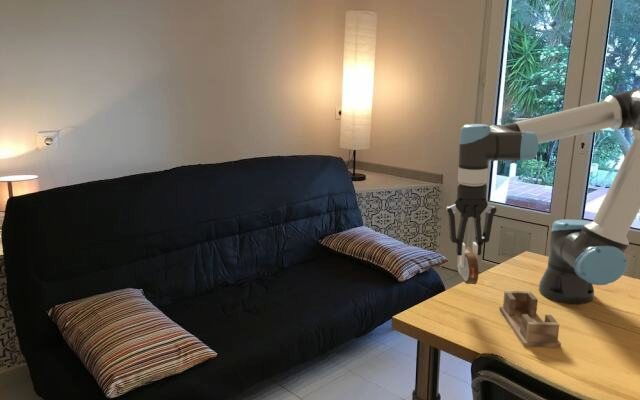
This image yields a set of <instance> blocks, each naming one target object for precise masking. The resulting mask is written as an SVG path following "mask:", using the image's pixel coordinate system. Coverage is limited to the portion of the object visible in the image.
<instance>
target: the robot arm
mask: <svg viewBox="0 0 640 400" xmlns="http://www.w3.org/2000/svg"><path fill="white" fill-rule="evenodd" d="M609 128H610V129H611V130H613V131H617V130H621V129H626V128H628V129H629V128H632V129H631V133H632V135H633V141H632V143H631V144H630V147H629V149H628V151H627V153H626V155H625V157H624V158H623V161H622V163H621V165H620V167H619V169H618V170H617V172H616V175H615V176H614V178H613V180H612V182H611V184H610V187H609V189H608V190H607V192H606V194H605V196H604V197H603V200H602V203H601V204H600V207H599V208H598V211H597V212H596V214H595V216H594V218H593V220H592V221H588V220H582V219H558V220H555V221H553V222H552V227H551V229H550V240H549V241H550V242H549V249H548V250H549V251H548V262H547V266H546V269H545V271H544V273H543V275H542V276H541V279H540V280H539V284H538V292H540V294H541V295H542V296H544V297H546V298H548V299H550V300H552V301H556V302H560V303H563V304H564V303H565V304H574V305H581V304H587V303H591V302H592V301H593V300H594V295H595V289H594V286H595V285H596V286H606V285H609V284H612V283H614V282H616V281H617V280H619V279H620V278H621V277H622V276H623V275H624V274H625V273H626V270H627V267H628V260H627V257H626V255H625V253H626V250H627V248H628V247H629V244H630V242H629V240H628V237H627V235H628V233H629V231H630V229H631V226H632V225H633V223H634V221H635V219H636V217H637V215H638V213H639V212H640V87H637V88H633V89H630V90H627V91H622V92H620V93H619V92H618V93H616V94H612V95H608V96H606V97H605V99H604V100H603V101H599V102H593V103H590V104H585V105H582V106H577V107H572V108H569V109H566V110H565V109H564V110H561V111H556V112H553V113H549V114H545V115H540V116H537V117H531V118H527V119H524V120H519V121H514V122H511V123H506V124H502V125H501V124H494V125H493V124H492V125H489V124H484V123H468V124H464V125H462V127H461V128H460V132H459V133H460V134H459V141H458V143H459V144H458V145H459V147H458V169H457V171H458V172H457V181H458V184H457V189H456V192H457V193H456V194H457V195H456V200H455V202H454V204H452V205H447V206H446V207H445V210H446V213H447V214H448V227H449V228H448V229H449V240H450V241H451V242H452V243H455V244H456V249H455V250H456V255H457V256H458V255H460V261H459V264H460V266H461V268H464V264H465V247H466V244H465V243H464V239H465V235H466V233H465V232H466V229H467V223H468V221H469V218H473V228H474V239H475V241H472V249H471V250H472V251H473V252H474V254H475V255H476V257H477V258H478V256H481V254H482V246H483V245H484V243H489V242H490V238H491V237H490V236H491V231H492V226H493V225H492V224H493V222H494V221H493V219H494V216H495V213H496V212H497V210H498V209H497V207H496V206H495V205H491V204H489V203H488V201H487V192H488V189H487V188H488V185H487V184H486V183H487V182H488V174H489V173H488V172H489V162H490V161H491V162H495V161H496V162H498V161H503V162H504V161H506V162H507V161H512V162H514V161H515V162H517V161H519V162H524V161H533V160H534V159H535V158H536V157H537V155H538V152H539V151H538V150H539V144H544V143H549V142H552V141H556V140H557V141H558V140H562V139H566V138H570V137H573V136H575V137H576V136H578V135H582V134H587V133H591V132H596V131H600V130H605V129H609ZM456 210H457V211H458V212H459V213H460V215H459V217H460V219H459V225H458V230H456V217H455V213H456ZM484 211H485V212H486V214H485V219H484V225H483V232H482V224H481V220H482V219H481V217H482V216H481V215H482V213H483V212H484ZM456 231H457V232H456Z"/></svg>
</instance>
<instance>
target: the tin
mask: <svg viewBox="0 0 640 400" xmlns="http://www.w3.org/2000/svg"><path fill="white" fill-rule="evenodd" d="M456 259H457V261H456V267H457V268H456V270H457V272H458V275H459V276H460V277H461V279H462V281H463V282H464V283H465V284H466V285H476V284H477V283H478V280H479V271H480V270H479V261H478V256H477V257H476V255H475V254H474V252H473V251H472V249H471V248H470V246H465V264H464V268H461V266H460V264H459V261H460V255H457V258H456Z"/></svg>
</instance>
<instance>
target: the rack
mask: <svg viewBox="0 0 640 400" xmlns="http://www.w3.org/2000/svg"><path fill="white" fill-rule="evenodd" d="M538 300H539V299H538V298H537V297H536V295H535V294H534V293H533V292H532V291H528V290H526V291H525V290H523V291H522V290H504V294H503V303H502V306H500V307H499V311H500V313H501V315H502V316H503V318H504V320H506V322H507V324H508V326H509V327H510V329H511V330H512V331H513V333H514V335H515V336H516V338H517V339H518V340H519V342H520V343H521V345H522V346H523V347H525V348H526V347H527V348H561V346H562V343H561V342H560V341H559V333H560V332H559V331H560V323H559V322H558V321H557V320H556V319H555V317H553V315H552V314H544V320H542V318H541V317H540V316H539V315H538V313H537V310H538V302H539V301H538Z"/></svg>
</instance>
